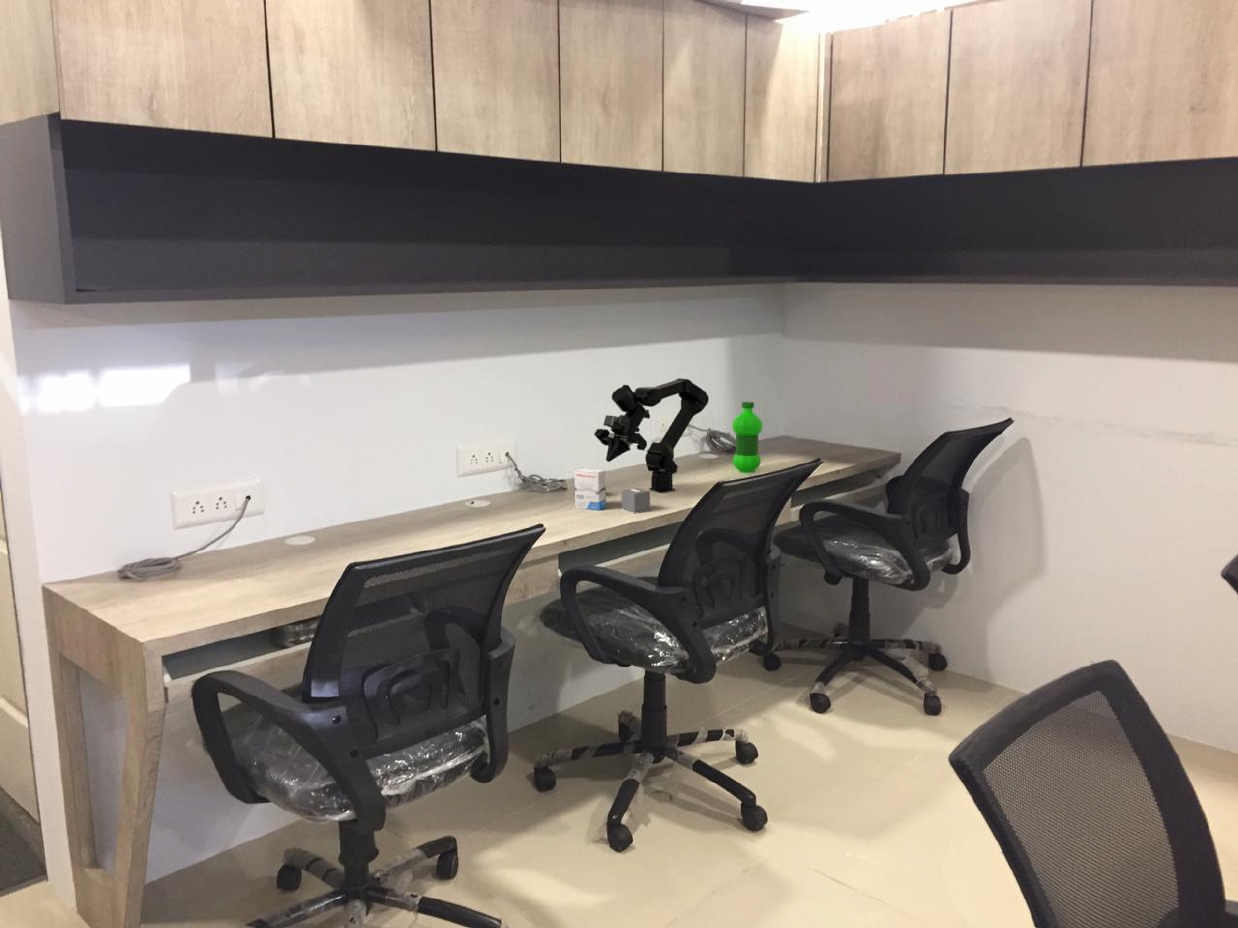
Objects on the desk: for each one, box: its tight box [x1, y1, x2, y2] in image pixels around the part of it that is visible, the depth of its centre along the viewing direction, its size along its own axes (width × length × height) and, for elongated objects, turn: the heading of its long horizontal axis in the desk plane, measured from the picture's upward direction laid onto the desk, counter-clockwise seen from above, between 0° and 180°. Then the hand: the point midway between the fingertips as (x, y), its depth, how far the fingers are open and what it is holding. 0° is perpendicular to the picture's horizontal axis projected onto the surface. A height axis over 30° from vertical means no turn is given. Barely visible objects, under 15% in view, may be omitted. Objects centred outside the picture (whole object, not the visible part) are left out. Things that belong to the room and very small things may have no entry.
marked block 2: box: [621, 487, 651, 514], centre depth 298 cm, size 6×6×6 cm
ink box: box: [573, 468, 607, 511], centre depth 301 cm, size 9×5×12 cm, turn 63°
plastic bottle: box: [732, 401, 763, 474], centre depth 354 cm, size 10×10×25 cm
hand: (607, 460), depth 305 cm, fingers closed
